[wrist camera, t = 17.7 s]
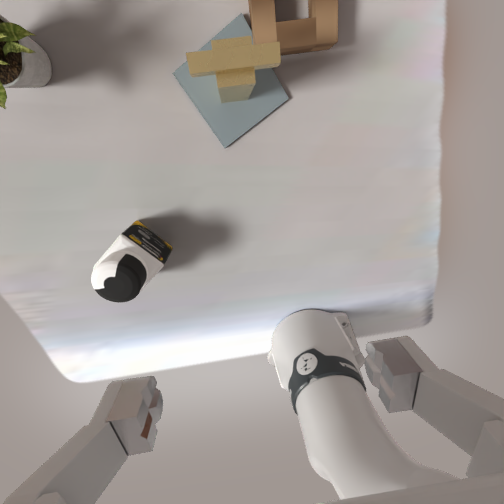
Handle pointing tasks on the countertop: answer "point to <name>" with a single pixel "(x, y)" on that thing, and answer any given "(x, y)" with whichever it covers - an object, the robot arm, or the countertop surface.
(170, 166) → the countertop surface
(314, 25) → the socket block
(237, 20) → the slate mat
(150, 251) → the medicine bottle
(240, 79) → the t key
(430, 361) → the robot arm
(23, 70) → the house plant
